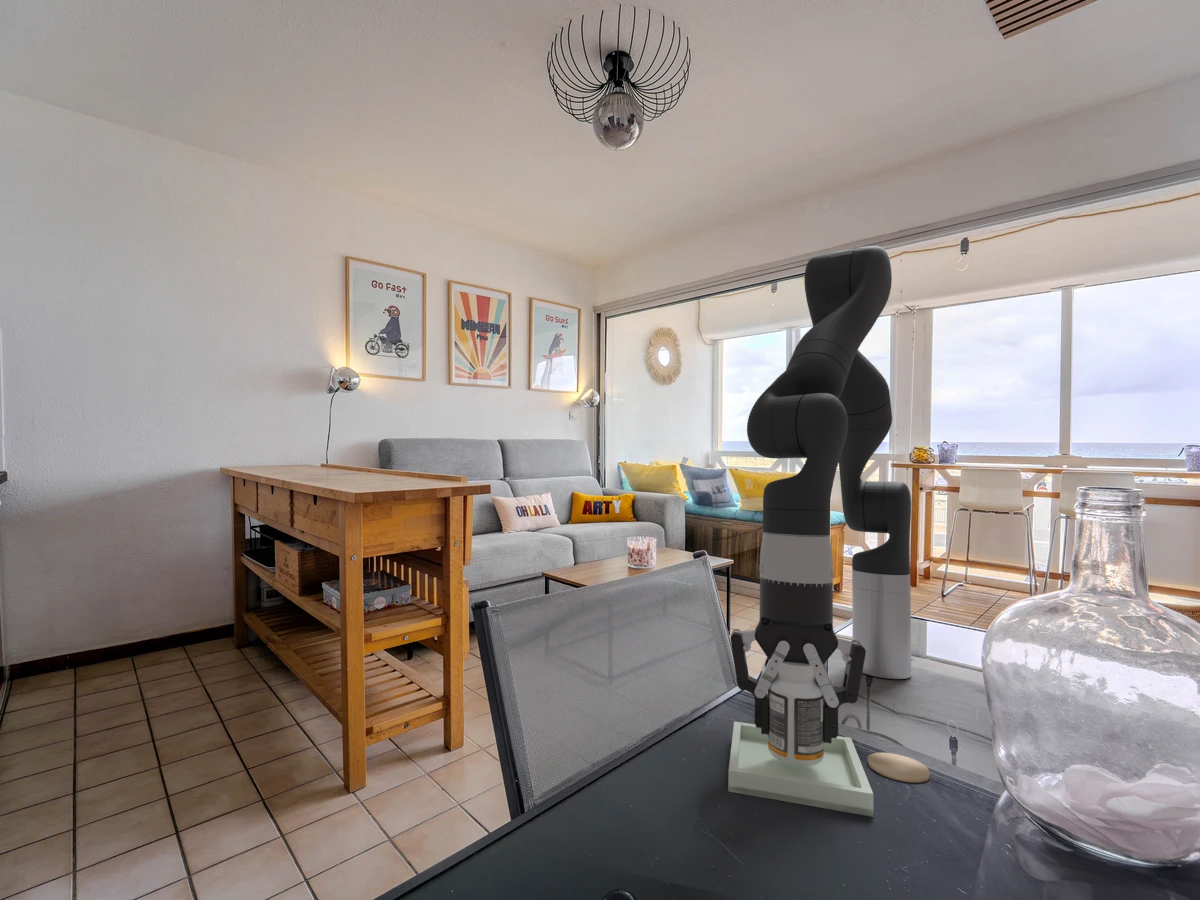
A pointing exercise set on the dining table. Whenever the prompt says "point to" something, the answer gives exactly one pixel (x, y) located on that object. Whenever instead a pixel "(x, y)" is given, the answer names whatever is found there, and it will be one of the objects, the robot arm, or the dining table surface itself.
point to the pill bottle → (796, 715)
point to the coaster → (898, 767)
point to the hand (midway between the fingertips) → (794, 735)
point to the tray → (799, 774)
